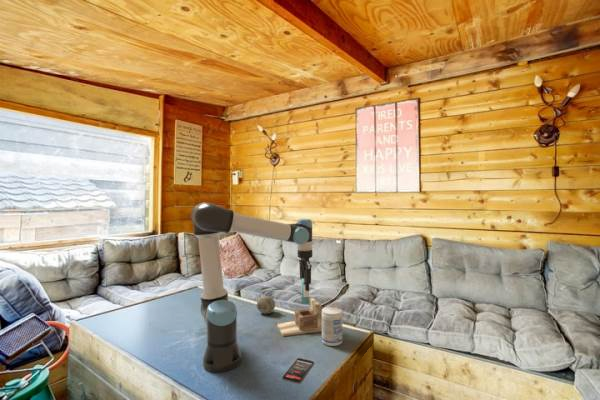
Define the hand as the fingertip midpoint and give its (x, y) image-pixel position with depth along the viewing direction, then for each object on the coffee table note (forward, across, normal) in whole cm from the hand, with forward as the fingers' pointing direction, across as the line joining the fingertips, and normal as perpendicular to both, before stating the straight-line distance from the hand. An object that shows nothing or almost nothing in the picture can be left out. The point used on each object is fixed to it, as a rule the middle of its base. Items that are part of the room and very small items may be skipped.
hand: (305, 295), depth 154 cm
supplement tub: (+17, -18, -7) cm, 26 cm away
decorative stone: (+17, +24, +16) cm, 33 cm away
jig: (+16, 0, +4) cm, 17 cm away
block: (+15, 0, 0) cm, 15 cm away
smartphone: (+17, -35, +14) cm, 41 cm away
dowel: (+4, 0, 0) cm, 4 cm away
